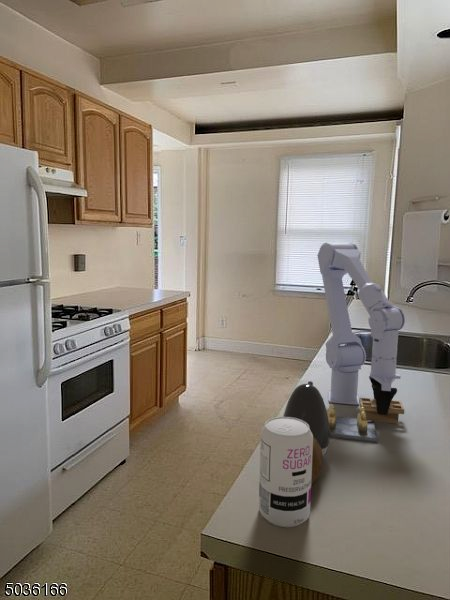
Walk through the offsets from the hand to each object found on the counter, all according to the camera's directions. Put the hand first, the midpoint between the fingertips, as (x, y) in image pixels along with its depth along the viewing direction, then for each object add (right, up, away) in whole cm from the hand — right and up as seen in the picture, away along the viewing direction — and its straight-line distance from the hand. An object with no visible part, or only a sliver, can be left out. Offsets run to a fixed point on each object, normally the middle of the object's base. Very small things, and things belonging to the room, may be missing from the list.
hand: (380, 409), depth 108 cm
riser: (0, -3, 0) cm, 3 cm away
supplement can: (-29, -8, -38) cm, 48 cm away
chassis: (-10, -3, -6) cm, 12 cm away
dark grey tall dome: (-22, -5, -19) cm, 30 cm away
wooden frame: (0, 0, 0) cm, 0 cm away
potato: (-25, -6, -28) cm, 38 cm away
